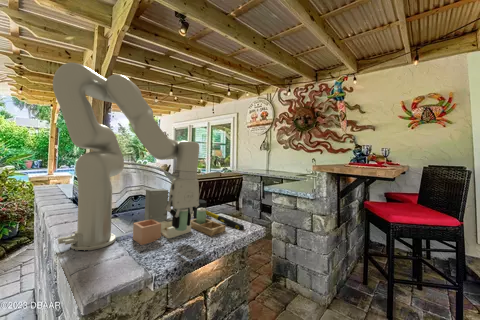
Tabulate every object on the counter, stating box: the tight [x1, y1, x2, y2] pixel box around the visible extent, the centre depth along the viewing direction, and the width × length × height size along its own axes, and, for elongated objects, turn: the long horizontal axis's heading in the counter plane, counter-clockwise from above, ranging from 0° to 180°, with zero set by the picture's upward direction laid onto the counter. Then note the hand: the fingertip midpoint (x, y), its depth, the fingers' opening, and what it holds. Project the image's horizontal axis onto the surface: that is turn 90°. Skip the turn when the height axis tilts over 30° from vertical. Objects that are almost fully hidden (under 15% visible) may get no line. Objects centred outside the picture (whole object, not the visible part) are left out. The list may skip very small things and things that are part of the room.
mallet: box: [192, 199, 245, 231], centre depth 95 cm, size 29×6×10 cm, turn 57°
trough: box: [190, 218, 227, 237], centre depth 87 cm, size 8×15×3 cm, turn 50°
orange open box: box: [132, 219, 162, 246], centre depth 75 cm, size 7×7×6 cm
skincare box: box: [143, 188, 169, 222], centre depth 91 cm, size 8×7×16 cm
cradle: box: [159, 217, 192, 239], centre depth 81 cm, size 10×9×5 cm
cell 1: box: [175, 208, 188, 231], centre depth 73 cm, size 4×4×8 cm
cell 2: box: [196, 208, 207, 224], centre depth 89 cm, size 4×4×8 cm
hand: (181, 225), depth 73 cm, fingers closed on cell 1, 4 cm apart
